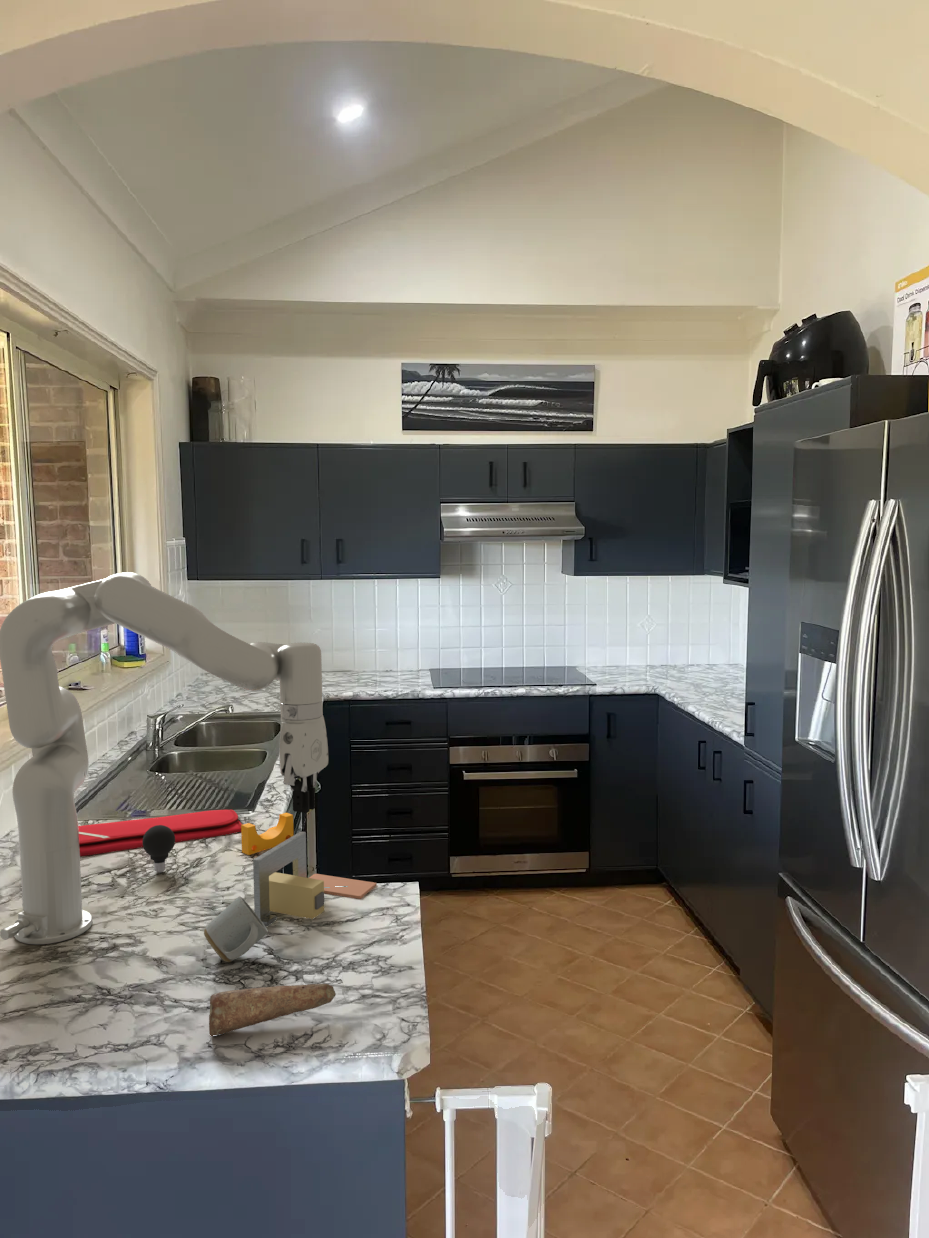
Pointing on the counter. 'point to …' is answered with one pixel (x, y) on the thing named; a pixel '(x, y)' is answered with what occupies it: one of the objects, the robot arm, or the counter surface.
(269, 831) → the pipe clamp
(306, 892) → the tan rectangular block
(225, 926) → the ceramic mug
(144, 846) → the black rubber blower bulb
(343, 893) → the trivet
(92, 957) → the counter surface
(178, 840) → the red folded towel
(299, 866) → the grey u-shaped piece
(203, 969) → the counter surface
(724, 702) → the counter surface
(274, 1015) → the brown tapered cone
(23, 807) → the robot arm
